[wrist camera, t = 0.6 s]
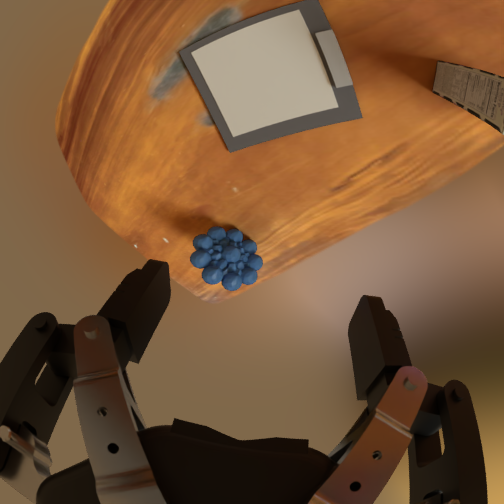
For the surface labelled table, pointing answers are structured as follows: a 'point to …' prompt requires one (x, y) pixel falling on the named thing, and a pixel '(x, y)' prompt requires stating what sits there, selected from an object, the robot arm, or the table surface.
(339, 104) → the clipboard
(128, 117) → the table surface
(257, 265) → the grapes
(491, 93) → the candy bar box
